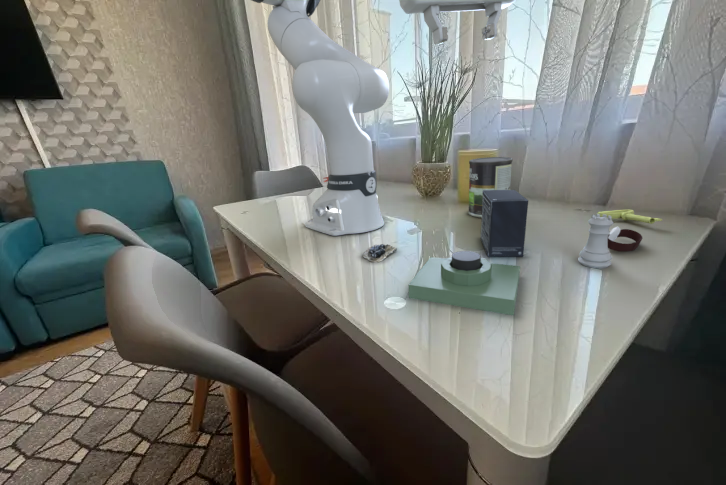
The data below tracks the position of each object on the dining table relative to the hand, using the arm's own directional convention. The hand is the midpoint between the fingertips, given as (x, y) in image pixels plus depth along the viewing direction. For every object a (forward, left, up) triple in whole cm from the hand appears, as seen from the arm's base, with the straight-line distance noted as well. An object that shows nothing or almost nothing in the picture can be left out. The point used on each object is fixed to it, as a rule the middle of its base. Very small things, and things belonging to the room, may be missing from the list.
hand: (466, 40), depth 51 cm
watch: (+24, +14, -36) cm, 45 cm away
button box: (+7, -14, -36) cm, 39 cm away
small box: (+6, +5, -36) cm, 37 cm away
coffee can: (-5, +29, -36) cm, 46 cm away
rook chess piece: (+21, +4, -36) cm, 42 cm away
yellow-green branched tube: (+23, +32, -35) cm, 52 cm away
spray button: (+7, -14, -32) cm, 36 cm away
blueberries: (-13, -9, -36) cm, 39 cm away
